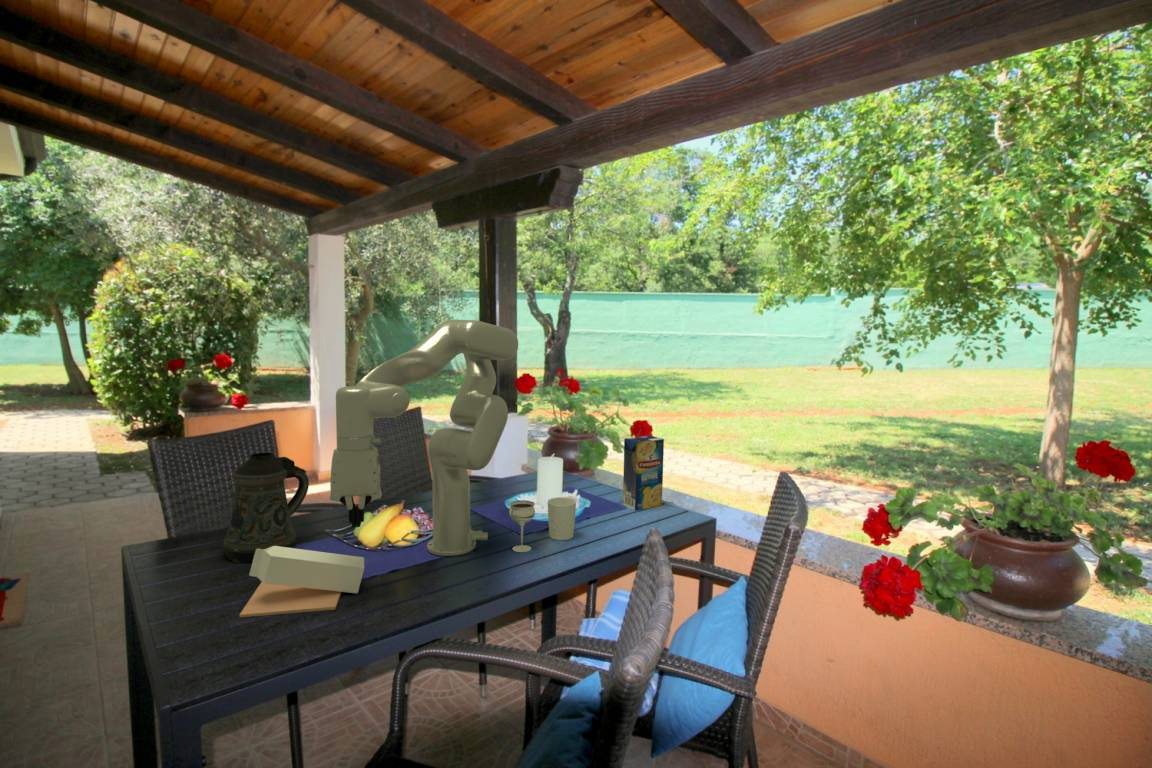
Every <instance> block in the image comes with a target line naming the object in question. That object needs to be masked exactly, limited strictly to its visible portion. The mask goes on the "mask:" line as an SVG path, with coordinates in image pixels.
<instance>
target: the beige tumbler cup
mask: <svg viewBox="0 0 1152 768" xmlns="http://www.w3.org/2000/svg"><path fill="white" fill-rule="evenodd" d="M576 507H577V501H576V499H574V498H571V497H565V496H559V497H553V498H550V499H548V500H547V519H548V520H547V521H548V533H549V534H548V536H549V538H551V539H553V540H555V541H556V540H557V541H568V540H571V539H573V538H574V532H575V531H574V530H575V525H576V524H575V523H576Z"/></svg>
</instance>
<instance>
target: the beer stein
mask: <svg viewBox="0 0 1152 768" xmlns="http://www.w3.org/2000/svg"><path fill="white" fill-rule="evenodd" d="M231 477H232V481H233V483H234V494H233V499H232V508H231V516H230V520H229V521H230V522H229V524H228V525H229V526H228V528H227V533H226V534H225V538H224V540H223V549H224V551H225V556H226V558H228V560H229V559H230V560H229V561H231V562H234V563H242V562H253V558H254V555H255V551H256V549H267V548H269V547H272V546H280V547H287V548H296V547H295V543H296V539H297V533H296V530H295V529H294V527H293V524H292V520H291V517H292V516H293V515H294V513H295V512H297V510H298V508H300V506H301V505H302V503H303V501H304V499H305V498H306V496H307V494H308V490H309V485H310V481H309V480H310V479H309V477H308V474H307V471H306V469H304V468H301V467H299V466H297V465H295V462H294V460H292V459H291V458H289V457H288V456H287V457H286V456H281V457H280V456H279V457H277V456H275V455H274V453H273V452H258V453H253V454H250V456H249V459H247V460H246V461H245V462H244V463H243V464H242V465H240V466H239V467H238V468H236V469H235V470H234V472H233V473H232V475H231ZM291 478H295V479H297V480H298V487H297V488H296V491H295V493H294V495H293V496H292V497H291V499H290V500H289V501H288V498H287V493H286V489H285V488H286V487H285V479H291Z"/></svg>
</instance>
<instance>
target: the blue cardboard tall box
mask: <svg viewBox="0 0 1152 768" xmlns="http://www.w3.org/2000/svg"><path fill="white" fill-rule="evenodd" d="M623 444H624V445H623V448H624V449H623V450H624V451H623V480H622V481H623V482H622V485H623V486H622V489H623V490H622V491H623V492H622V497H623V498H622V505H623V506H625V507H627V508H629V509H630V510H634V511H640V510H646V509H650V508H655V507H659V506H662V505H663V482H664V481H663V480H664V478H663V477H664V451H665V447H664V446H665V439H664V438H661V437H657V436H653V435H645V436H637V437H629V438H627V437H626V438H623Z"/></svg>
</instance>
